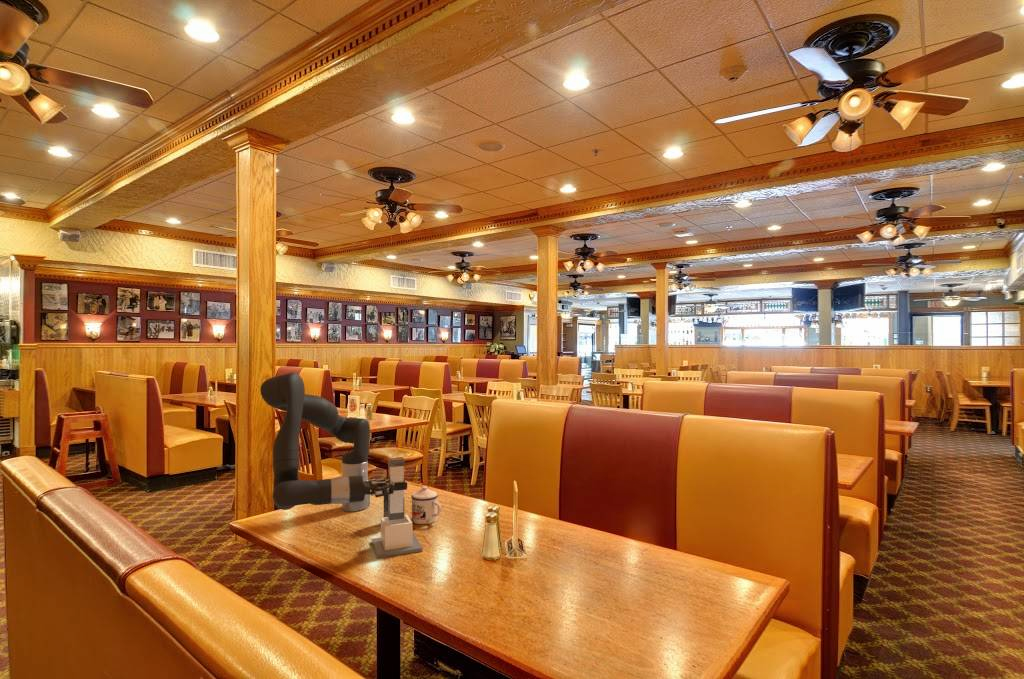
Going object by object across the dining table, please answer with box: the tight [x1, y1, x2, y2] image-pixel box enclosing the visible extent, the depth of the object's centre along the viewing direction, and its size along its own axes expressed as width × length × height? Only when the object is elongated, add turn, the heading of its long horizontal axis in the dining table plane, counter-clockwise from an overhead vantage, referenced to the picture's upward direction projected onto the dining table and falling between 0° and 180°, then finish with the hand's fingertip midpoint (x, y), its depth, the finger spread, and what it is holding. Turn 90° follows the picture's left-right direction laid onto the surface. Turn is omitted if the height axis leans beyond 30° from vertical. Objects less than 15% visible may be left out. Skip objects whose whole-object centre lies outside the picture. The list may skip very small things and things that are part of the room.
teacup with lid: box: [410, 485, 442, 525], centre depth 187 cm, size 12×9×12 cm
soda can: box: [383, 488, 405, 517], centre depth 185 cm, size 7×7×12 cm
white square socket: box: [371, 514, 423, 559], centre depth 165 cm, size 13×13×8 cm
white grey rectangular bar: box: [387, 456, 406, 520], centre depth 165 cm, size 3×4×18 cm, turn 112°
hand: (405, 484), depth 166 cm, fingers closed on white grey rectangular bar, 3 cm apart
